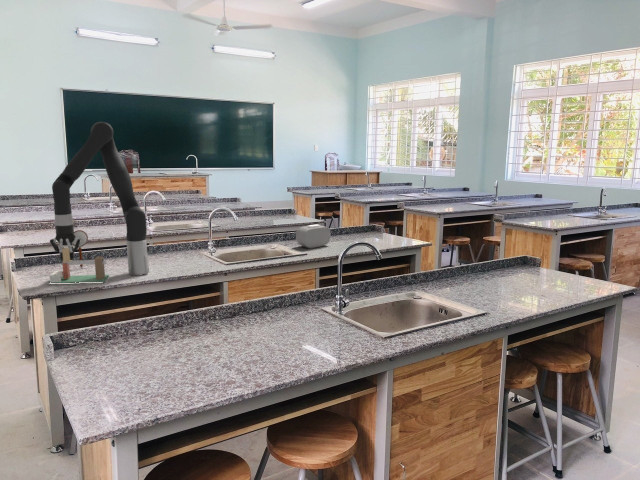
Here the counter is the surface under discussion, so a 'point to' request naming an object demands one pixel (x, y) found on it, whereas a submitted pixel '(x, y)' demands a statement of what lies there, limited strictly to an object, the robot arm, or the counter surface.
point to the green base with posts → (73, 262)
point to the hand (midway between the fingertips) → (67, 259)
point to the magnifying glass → (84, 238)
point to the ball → (60, 274)
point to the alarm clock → (313, 236)
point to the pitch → (98, 277)
